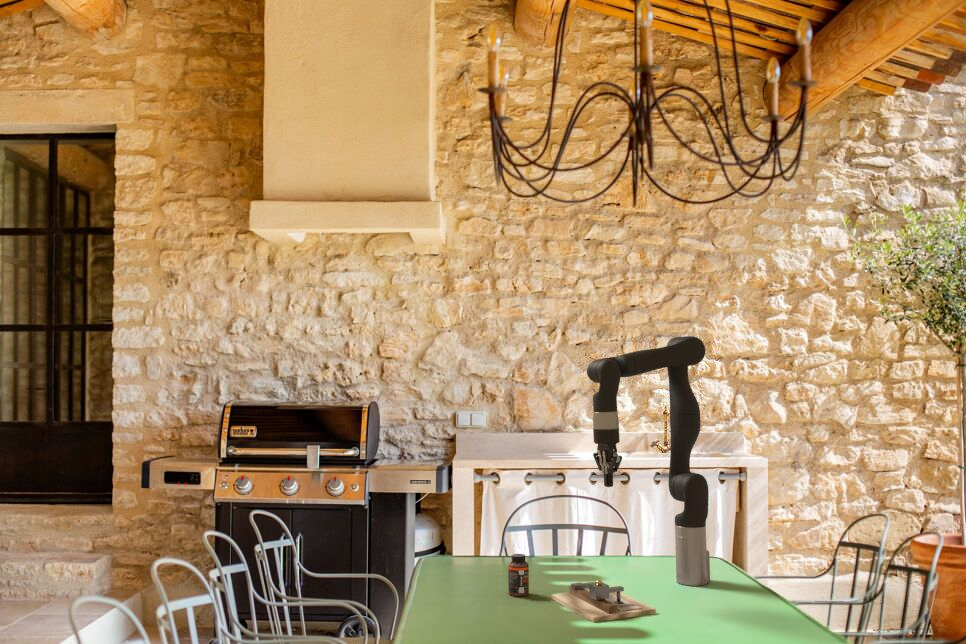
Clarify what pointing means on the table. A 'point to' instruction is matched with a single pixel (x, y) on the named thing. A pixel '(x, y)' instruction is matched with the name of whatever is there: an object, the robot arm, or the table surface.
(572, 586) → the bar
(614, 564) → the table surface
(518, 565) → the supplement bottle
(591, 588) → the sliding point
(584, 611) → the wooden slider puzzle board
